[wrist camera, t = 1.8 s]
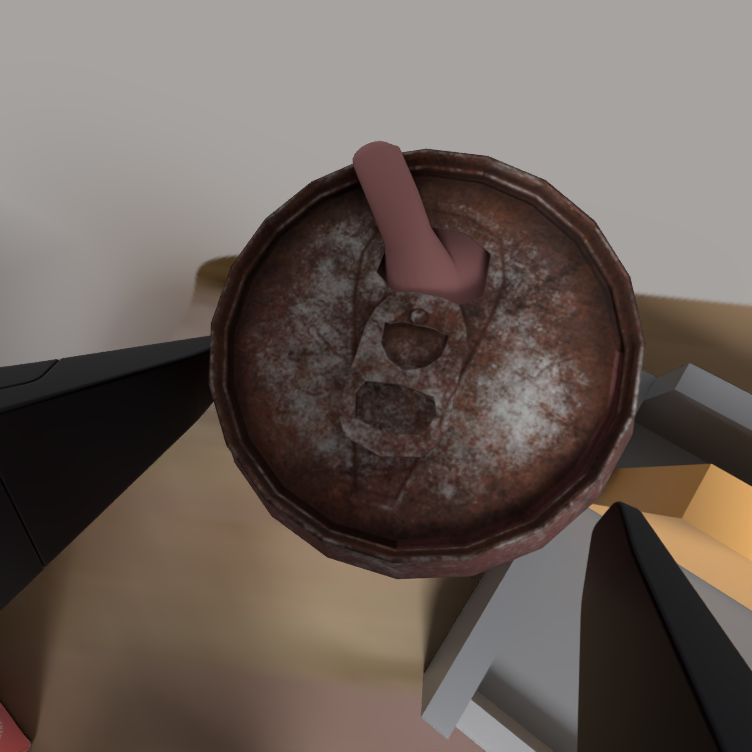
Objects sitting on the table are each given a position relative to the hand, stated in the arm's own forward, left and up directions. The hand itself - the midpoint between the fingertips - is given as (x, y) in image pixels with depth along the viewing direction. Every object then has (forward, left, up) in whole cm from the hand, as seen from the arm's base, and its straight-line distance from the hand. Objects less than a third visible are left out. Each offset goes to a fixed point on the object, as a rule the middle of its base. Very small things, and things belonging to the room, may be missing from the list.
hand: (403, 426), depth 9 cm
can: (+1, 0, -10) cm, 10 cm away
